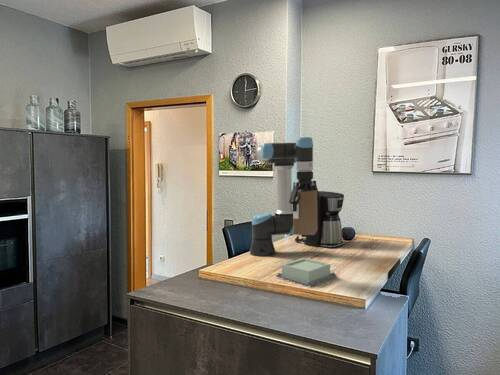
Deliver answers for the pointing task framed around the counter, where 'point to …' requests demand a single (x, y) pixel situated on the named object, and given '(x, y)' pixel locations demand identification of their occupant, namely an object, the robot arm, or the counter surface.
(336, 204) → the coffee maker
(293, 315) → the counter surface
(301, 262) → the plate
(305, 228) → the block
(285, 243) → the counter surface
